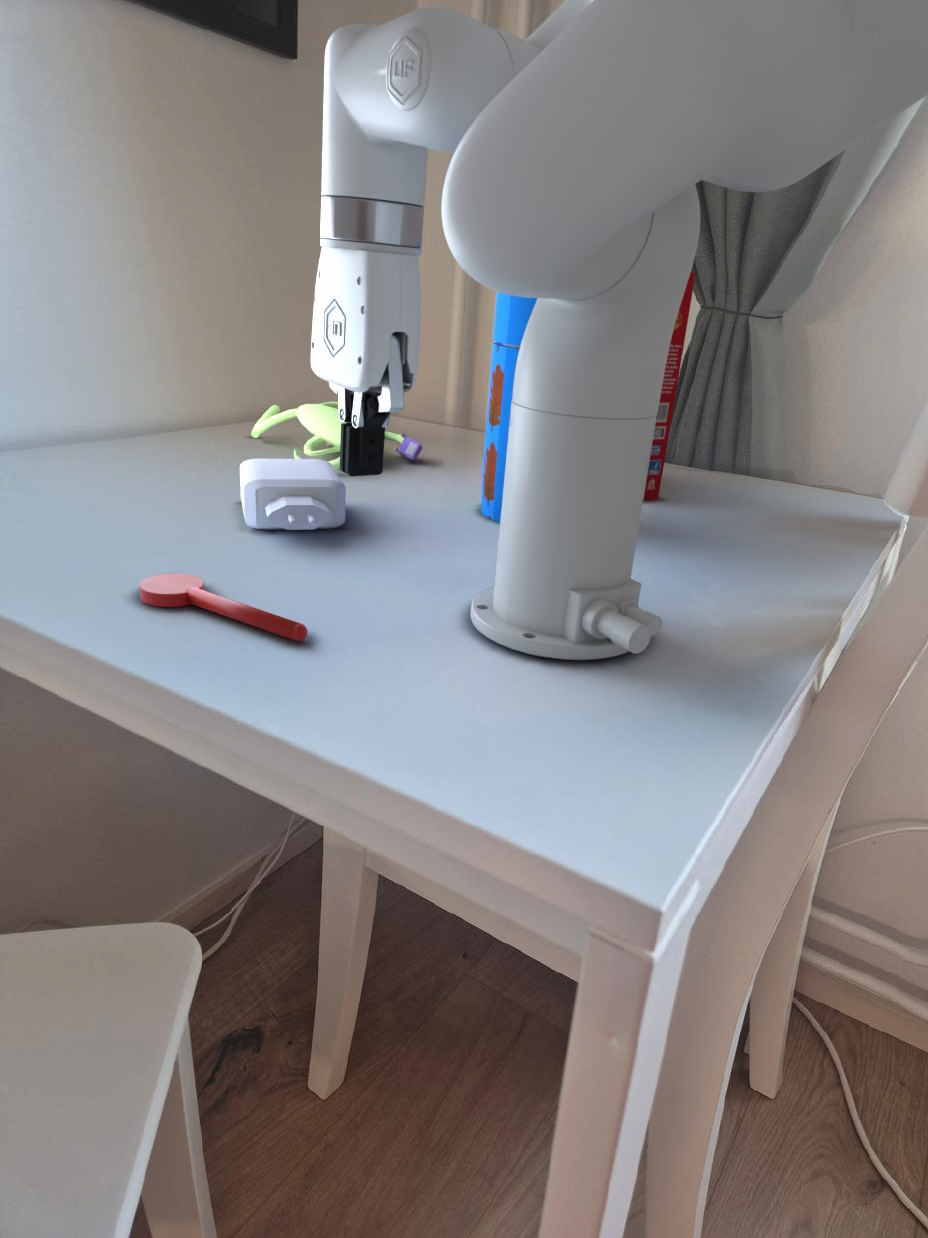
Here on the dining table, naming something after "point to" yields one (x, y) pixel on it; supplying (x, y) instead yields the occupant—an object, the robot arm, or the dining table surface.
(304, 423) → the figurine
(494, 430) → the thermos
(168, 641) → the dining table surface
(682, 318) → the food packaging
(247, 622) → the red flat paddle
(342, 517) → the charger
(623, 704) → the dining table surface
